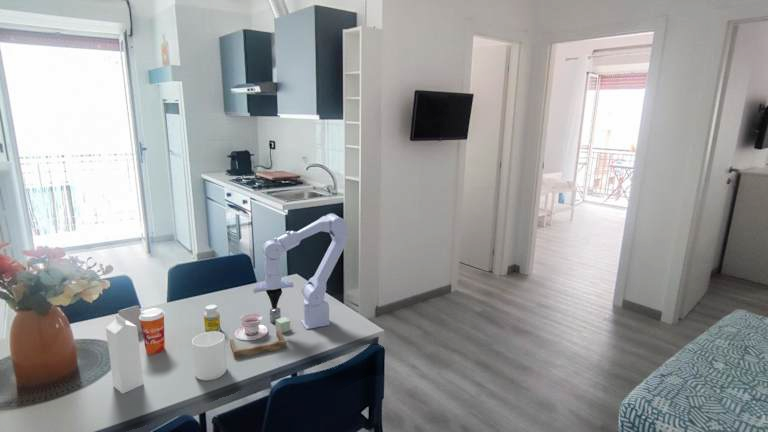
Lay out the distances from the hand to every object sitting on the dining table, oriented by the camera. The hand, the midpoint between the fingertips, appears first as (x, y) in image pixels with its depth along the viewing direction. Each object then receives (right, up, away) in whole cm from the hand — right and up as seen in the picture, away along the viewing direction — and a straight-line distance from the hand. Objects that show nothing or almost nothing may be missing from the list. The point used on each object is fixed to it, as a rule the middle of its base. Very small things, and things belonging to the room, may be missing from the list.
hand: (274, 307), depth 161 cm
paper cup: (-37, -12, -13) cm, 41 cm away
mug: (-14, -15, -25) cm, 32 cm away
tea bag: (-52, -9, -2) cm, 53 cm away
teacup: (-9, -10, 0) cm, 13 cm away
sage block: (+3, -9, +3) cm, 10 cm away
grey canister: (-2, -7, +10) cm, 13 cm away
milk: (-35, -16, -33) cm, 51 cm away
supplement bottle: (-23, -9, +1) cm, 25 cm away
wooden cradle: (-3, -12, -9) cm, 15 cm away
